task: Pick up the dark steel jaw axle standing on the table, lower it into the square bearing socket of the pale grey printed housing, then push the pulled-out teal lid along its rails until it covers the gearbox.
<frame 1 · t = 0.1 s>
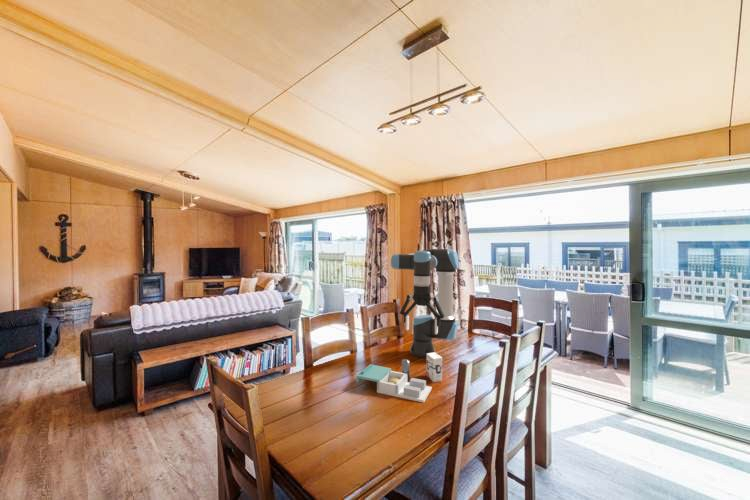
hand: (421, 331, 143), 28 cm above the table, fingers open, 13 cm apart
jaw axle: (405, 378, 159), on the table
housing: (404, 390, 145), on the table
lid: (374, 373, 152), point 5 cm above the table, slide at 9.0 cm
ink box: (433, 378, 159), on the table
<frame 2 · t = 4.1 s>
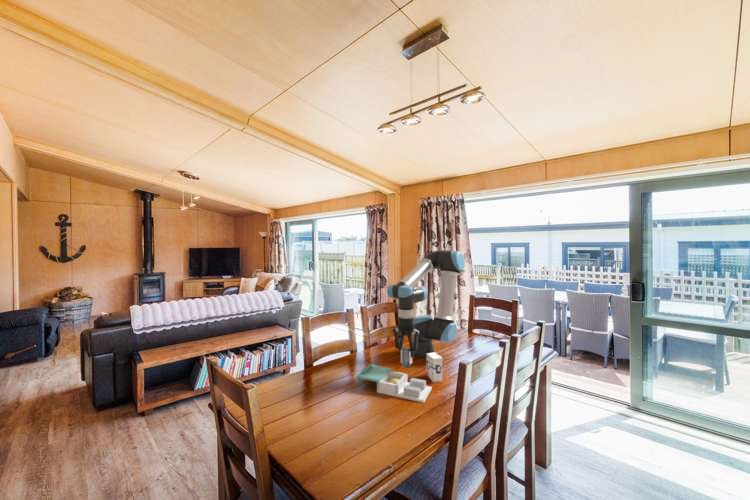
hand: (406, 362, 159), 8 cm above the table, fingers closed on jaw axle, 4 cm apart
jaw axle: (406, 366, 159), point 6 cm above the table, touching gripper
everything else where it was.
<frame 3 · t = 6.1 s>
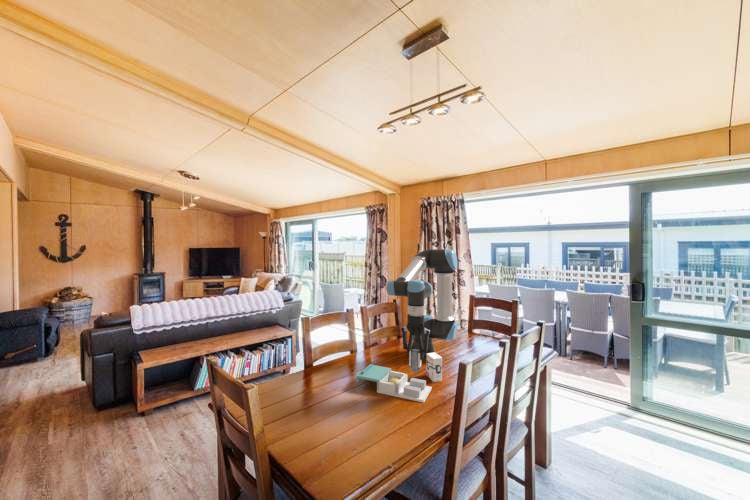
hand: (415, 365, 143), 12 cm above the table, fingers closed on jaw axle, 3 cm apart
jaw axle: (415, 370, 143), point 10 cm above the table, touching gripper
everything else where it was.
when the fingers open (2 cm above the table, at t = 8.1 s): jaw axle stays where it is, resting in housing.
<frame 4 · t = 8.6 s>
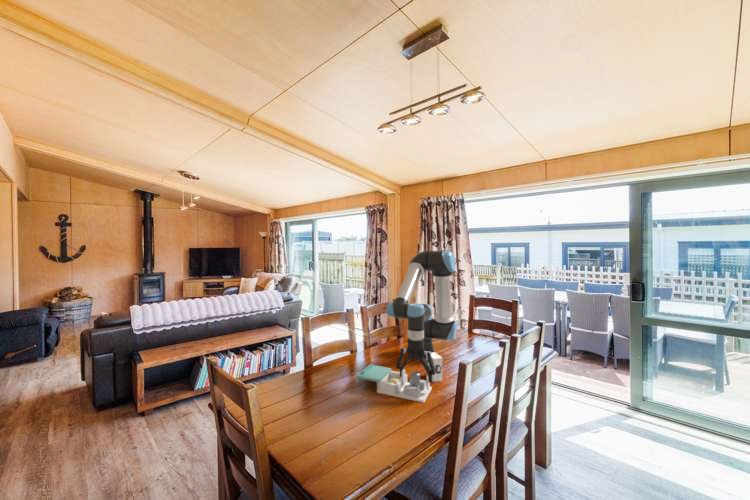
hand: (415, 386, 143), 3 cm above the table, fingers open, 11 cm apart
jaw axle: (415, 392, 143), resting in housing
everything else where it was.
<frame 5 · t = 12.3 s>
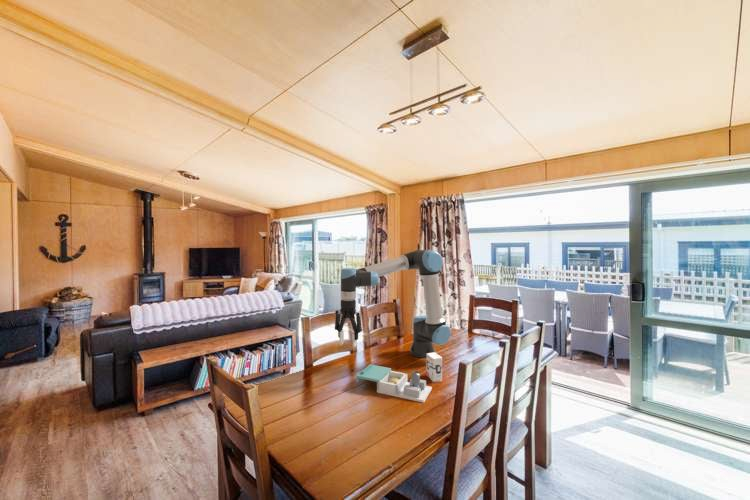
hand: (348, 345, 157), 17 cm above the table, fingers open, 7 cm apart
nothing on the table moved.
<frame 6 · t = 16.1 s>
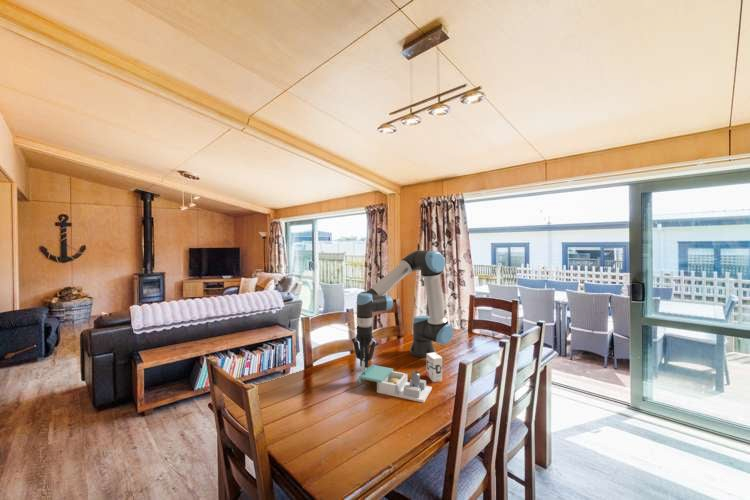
hand: (364, 373, 154), 4 cm above the table, fingers closed
lid: (376, 373, 151), point 5 cm above the table, slide at 7.9 cm, touching gripper
everything else where it was.
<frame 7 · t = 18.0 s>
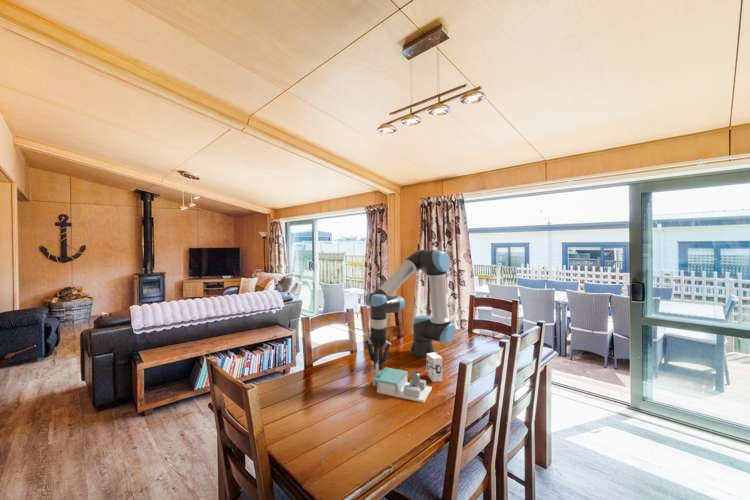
hand: (378, 375, 151), 4 cm above the table, fingers closed
lid: (390, 376, 148), point 5 cm above the table, slide at 0.4 cm, touching gripper
everything else where it was.
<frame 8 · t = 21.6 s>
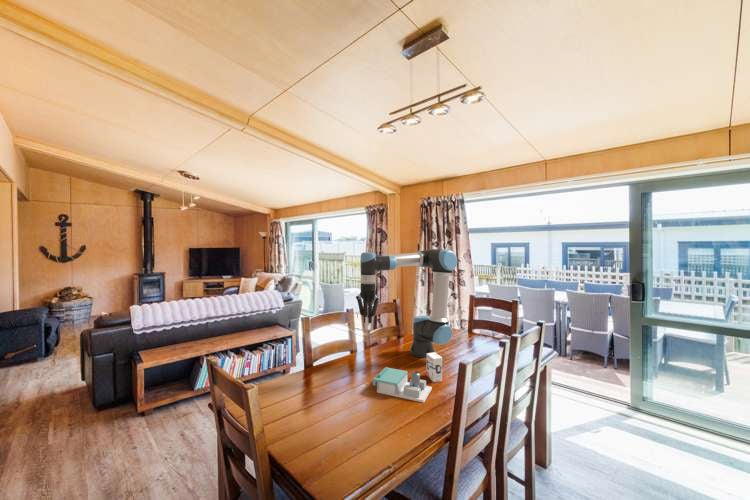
hand: (367, 329, 159), 24 cm above the table, fingers closed
lid: (390, 376, 148), point 5 cm above the table, slide at 0.4 cm
everything else where it was.
at the end: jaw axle 0.1 cm from the target spot on the housing, point 0.0 cm above the housing's base; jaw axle tilted 0°; lid slide at 0.4 cm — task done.
